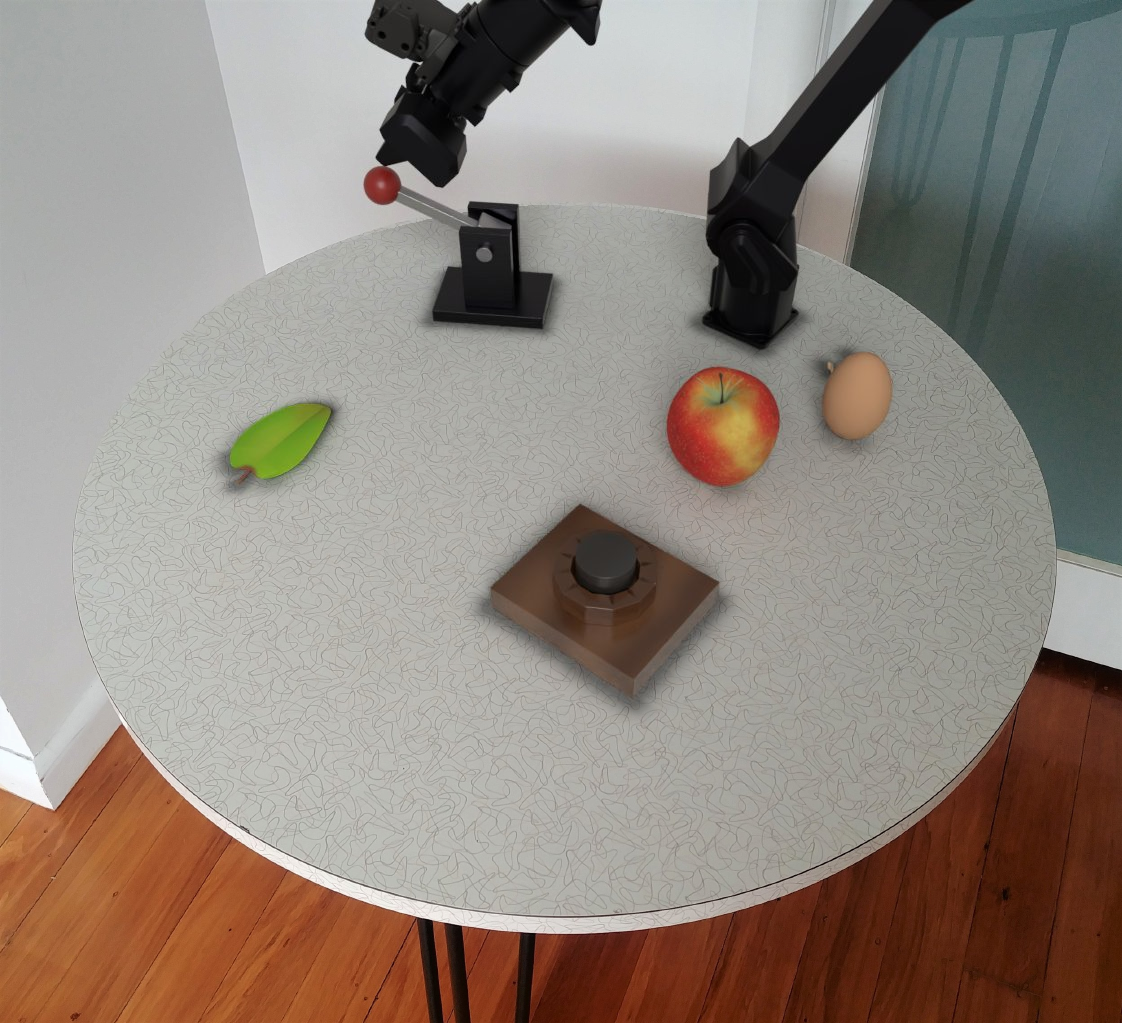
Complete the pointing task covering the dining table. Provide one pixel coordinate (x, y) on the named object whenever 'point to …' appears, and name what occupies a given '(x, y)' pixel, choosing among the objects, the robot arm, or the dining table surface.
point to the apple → (722, 425)
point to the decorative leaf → (279, 440)
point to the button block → (605, 603)
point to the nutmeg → (831, 366)
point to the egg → (857, 396)
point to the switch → (419, 200)
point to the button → (605, 563)
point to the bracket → (493, 276)
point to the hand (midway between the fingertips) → (380, 160)
